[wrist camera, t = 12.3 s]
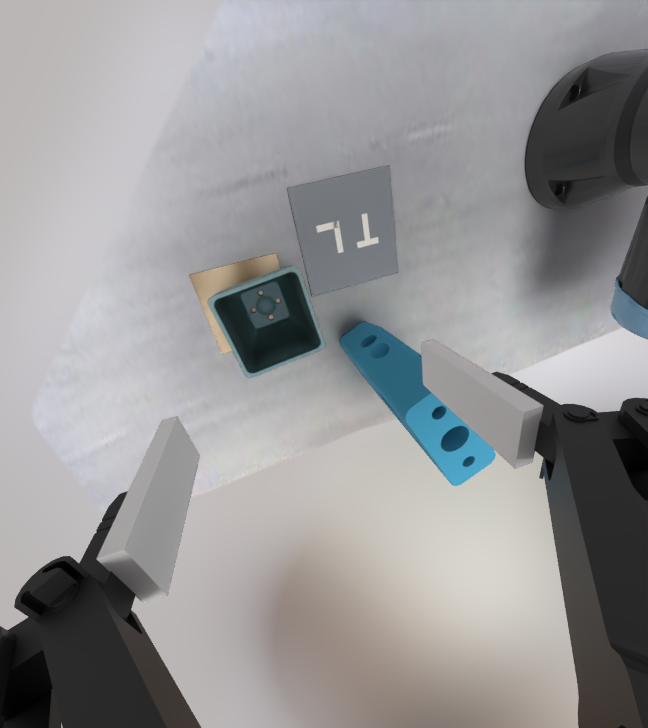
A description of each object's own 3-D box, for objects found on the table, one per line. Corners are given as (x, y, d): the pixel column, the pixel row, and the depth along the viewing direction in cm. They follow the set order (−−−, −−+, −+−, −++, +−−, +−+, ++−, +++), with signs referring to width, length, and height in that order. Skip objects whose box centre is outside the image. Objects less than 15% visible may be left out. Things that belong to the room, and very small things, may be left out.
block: (330, 331, 39) (401, 414, 21) (359, 309, 39) (455, 374, 21) (371, 387, 45) (454, 488, 27) (397, 368, 44) (497, 458, 27)
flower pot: (213, 282, 32) (204, 299, 25) (285, 255, 33) (298, 264, 25) (246, 348, 37) (247, 380, 29) (309, 323, 37) (327, 348, 30)
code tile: (388, 165, 32) (389, 165, 32) (397, 272, 38) (398, 272, 38) (286, 188, 31) (287, 188, 30) (311, 296, 36) (312, 296, 36)
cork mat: (275, 253, 33) (276, 253, 33) (297, 331, 38) (297, 332, 37) (189, 274, 32) (188, 275, 32) (222, 353, 36) (222, 354, 36)
